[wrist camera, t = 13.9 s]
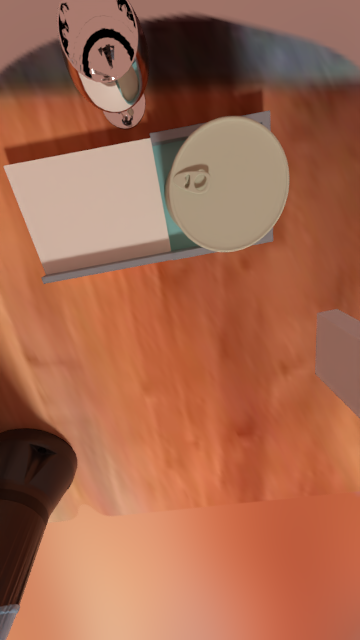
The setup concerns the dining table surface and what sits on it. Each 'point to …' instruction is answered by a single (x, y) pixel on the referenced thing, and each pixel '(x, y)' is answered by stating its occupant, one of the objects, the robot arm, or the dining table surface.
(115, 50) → the wineglass
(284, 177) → the can
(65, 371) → the dining table surface
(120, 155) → the two-tone serving tray
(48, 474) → the robot arm
